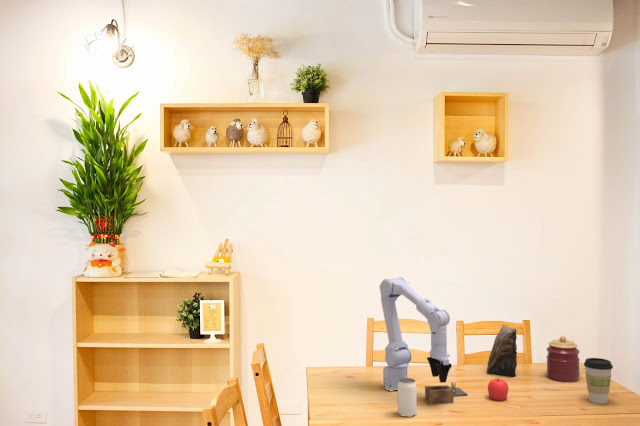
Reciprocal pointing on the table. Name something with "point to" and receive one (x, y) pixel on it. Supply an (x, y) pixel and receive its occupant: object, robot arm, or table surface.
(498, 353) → the rock
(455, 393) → the panel
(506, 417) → the table surface
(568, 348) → the canister
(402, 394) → the can
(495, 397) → the apple
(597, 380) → the coffee cup
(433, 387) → the walnut link
